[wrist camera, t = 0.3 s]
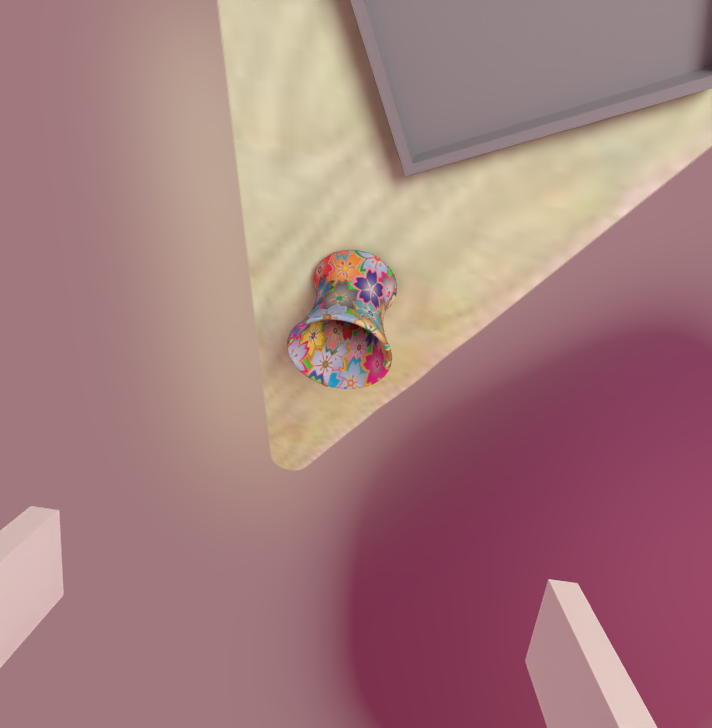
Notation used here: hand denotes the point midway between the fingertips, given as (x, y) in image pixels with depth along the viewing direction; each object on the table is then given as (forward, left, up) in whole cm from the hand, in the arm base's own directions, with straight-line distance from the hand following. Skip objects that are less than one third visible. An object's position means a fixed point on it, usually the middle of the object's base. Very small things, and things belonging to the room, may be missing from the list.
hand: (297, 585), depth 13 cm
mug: (+16, -10, -35) cm, 40 cm away
